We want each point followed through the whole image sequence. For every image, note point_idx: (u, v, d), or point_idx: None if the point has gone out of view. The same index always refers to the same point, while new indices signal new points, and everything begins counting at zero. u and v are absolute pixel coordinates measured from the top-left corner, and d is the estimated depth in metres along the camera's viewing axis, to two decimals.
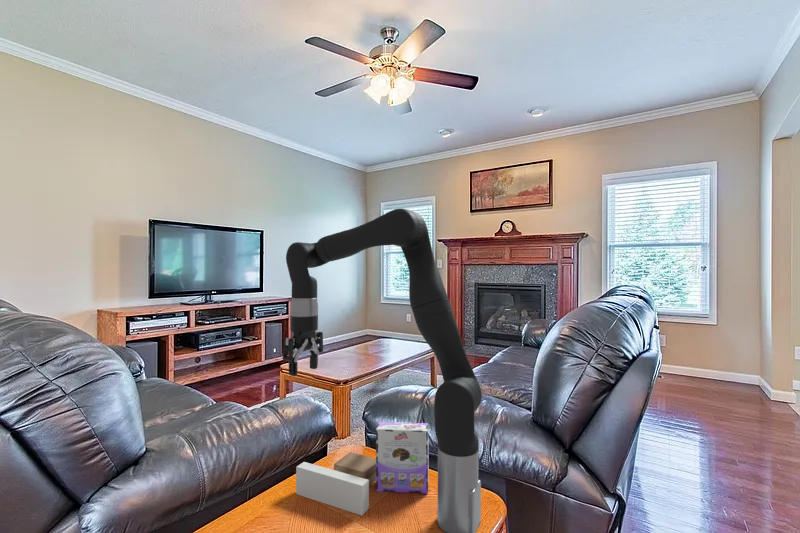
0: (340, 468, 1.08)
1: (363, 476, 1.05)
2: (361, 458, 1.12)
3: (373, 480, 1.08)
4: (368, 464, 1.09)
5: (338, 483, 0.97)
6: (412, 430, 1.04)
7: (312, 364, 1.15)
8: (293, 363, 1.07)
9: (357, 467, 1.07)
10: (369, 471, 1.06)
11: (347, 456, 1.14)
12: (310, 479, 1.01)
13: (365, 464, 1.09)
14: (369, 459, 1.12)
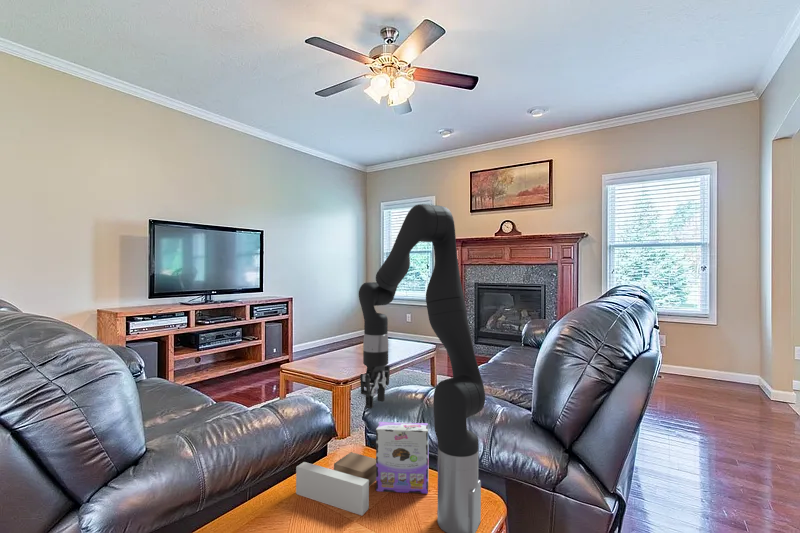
0: (340, 468, 1.08)
1: (362, 476, 1.05)
2: (362, 458, 1.12)
3: (373, 480, 1.08)
4: (367, 464, 1.09)
5: (338, 483, 0.97)
6: (412, 430, 1.04)
7: (380, 396, 1.22)
8: (370, 397, 1.15)
9: (357, 467, 1.07)
10: (368, 471, 1.06)
11: (347, 456, 1.14)
12: (310, 479, 1.01)
13: (364, 464, 1.09)
14: (369, 459, 1.12)
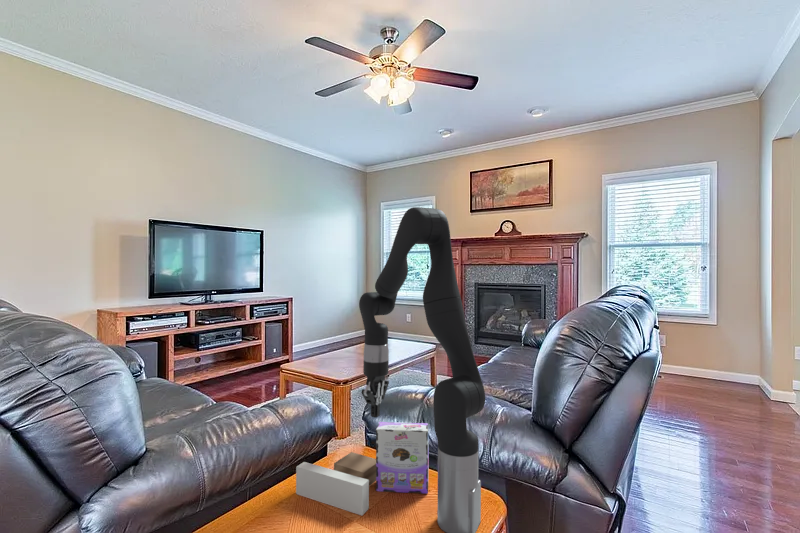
0: (340, 468, 1.08)
1: (362, 476, 1.05)
2: (362, 458, 1.12)
3: (373, 480, 1.08)
4: (367, 464, 1.09)
5: (338, 483, 0.97)
6: (412, 430, 1.04)
7: None
8: (375, 406, 1.18)
9: (357, 467, 1.07)
10: (368, 471, 1.06)
11: (348, 456, 1.14)
12: (310, 479, 1.01)
13: (364, 465, 1.09)
14: (369, 459, 1.12)
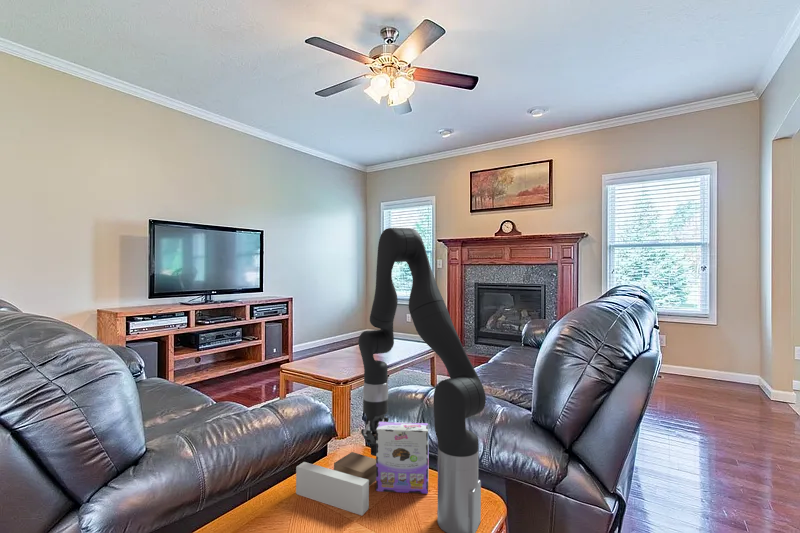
0: (340, 468, 1.08)
1: (361, 476, 1.05)
2: (362, 458, 1.12)
3: (372, 481, 1.08)
4: (367, 464, 1.09)
5: (338, 483, 0.97)
6: (412, 430, 1.04)
7: None
8: (375, 445, 1.18)
9: (356, 467, 1.07)
10: (367, 471, 1.06)
11: (348, 455, 1.14)
12: (310, 479, 1.01)
13: (364, 465, 1.09)
14: (369, 459, 1.12)
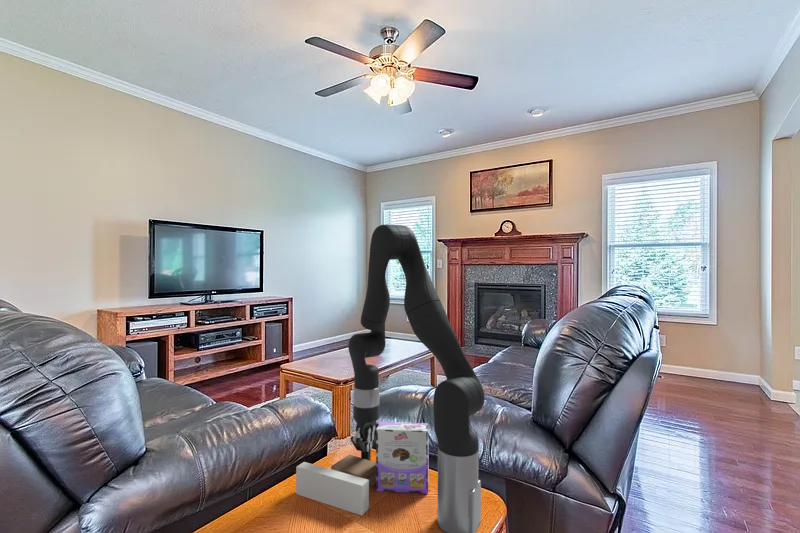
0: None
1: None
2: (359, 461, 1.11)
3: (370, 484, 1.07)
4: (365, 467, 1.08)
5: (338, 483, 0.97)
6: (412, 430, 1.04)
7: None
8: (365, 452, 1.13)
9: (354, 470, 1.06)
10: (365, 474, 1.05)
11: (345, 458, 1.12)
12: (310, 479, 1.01)
13: (362, 467, 1.07)
14: (367, 462, 1.10)
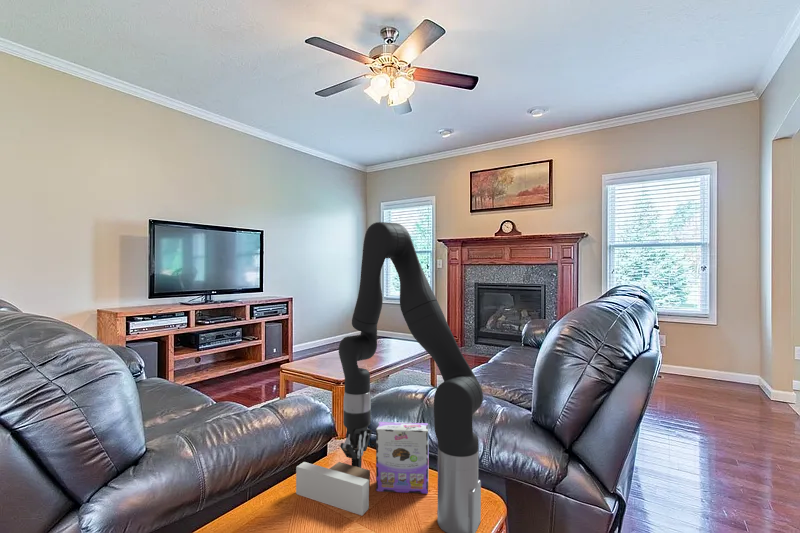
0: None
1: None
2: (350, 468, 1.07)
3: None
4: (356, 475, 1.03)
5: (338, 483, 0.97)
6: (412, 430, 1.04)
7: None
8: (356, 460, 1.09)
9: None
10: None
11: (335, 466, 1.08)
12: (310, 479, 1.01)
13: (353, 475, 1.03)
14: (358, 469, 1.06)
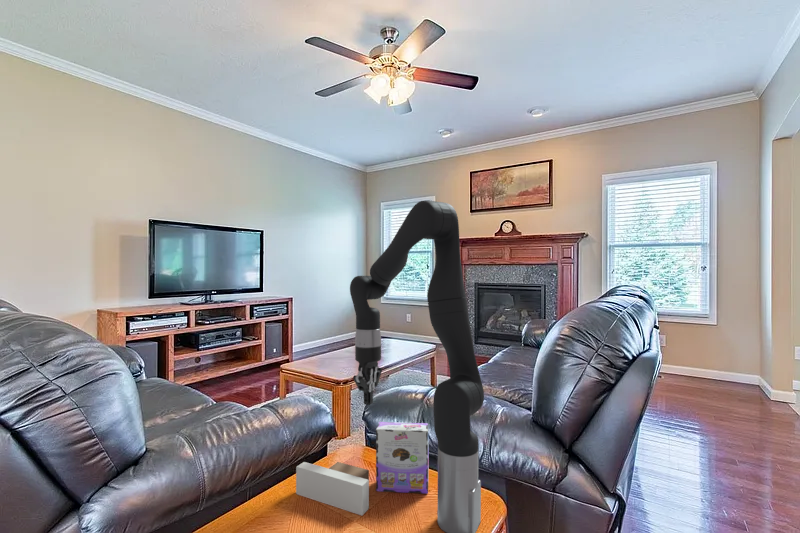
0: None
1: None
2: (349, 468, 1.07)
3: None
4: (355, 475, 1.03)
5: (338, 483, 0.97)
6: (412, 430, 1.04)
7: None
8: (368, 393, 1.14)
9: None
10: None
11: (334, 466, 1.08)
12: (310, 479, 1.01)
13: None
14: (357, 469, 1.06)
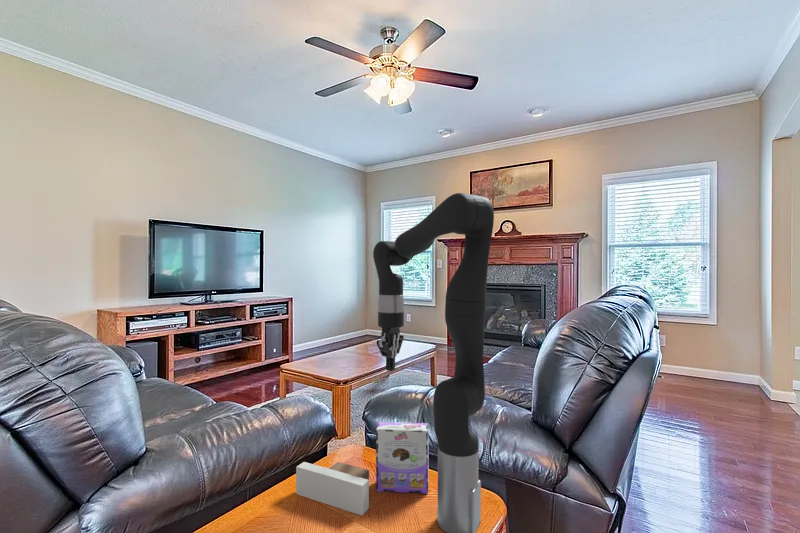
0: None
1: None
2: (349, 468, 1.07)
3: None
4: (356, 475, 1.03)
5: (338, 483, 0.97)
6: (412, 430, 1.04)
7: None
8: (390, 359, 1.14)
9: None
10: None
11: (334, 466, 1.08)
12: (310, 479, 1.01)
13: (353, 475, 1.03)
14: (357, 469, 1.06)
